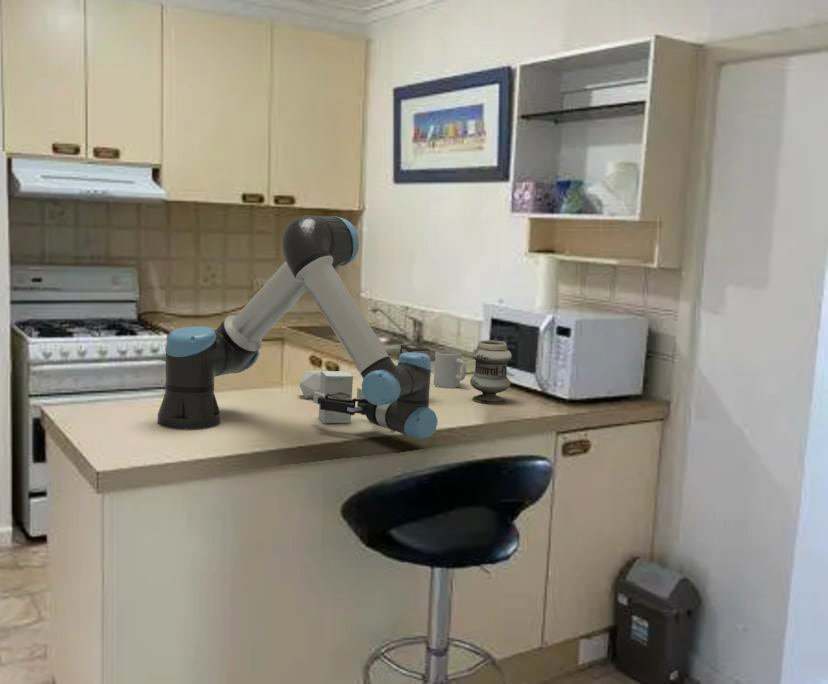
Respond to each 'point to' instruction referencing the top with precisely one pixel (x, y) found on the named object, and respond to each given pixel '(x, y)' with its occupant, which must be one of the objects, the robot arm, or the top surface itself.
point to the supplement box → (335, 394)
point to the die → (310, 383)
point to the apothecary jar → (490, 371)
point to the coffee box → (414, 349)
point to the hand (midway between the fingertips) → (336, 394)
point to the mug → (448, 369)
